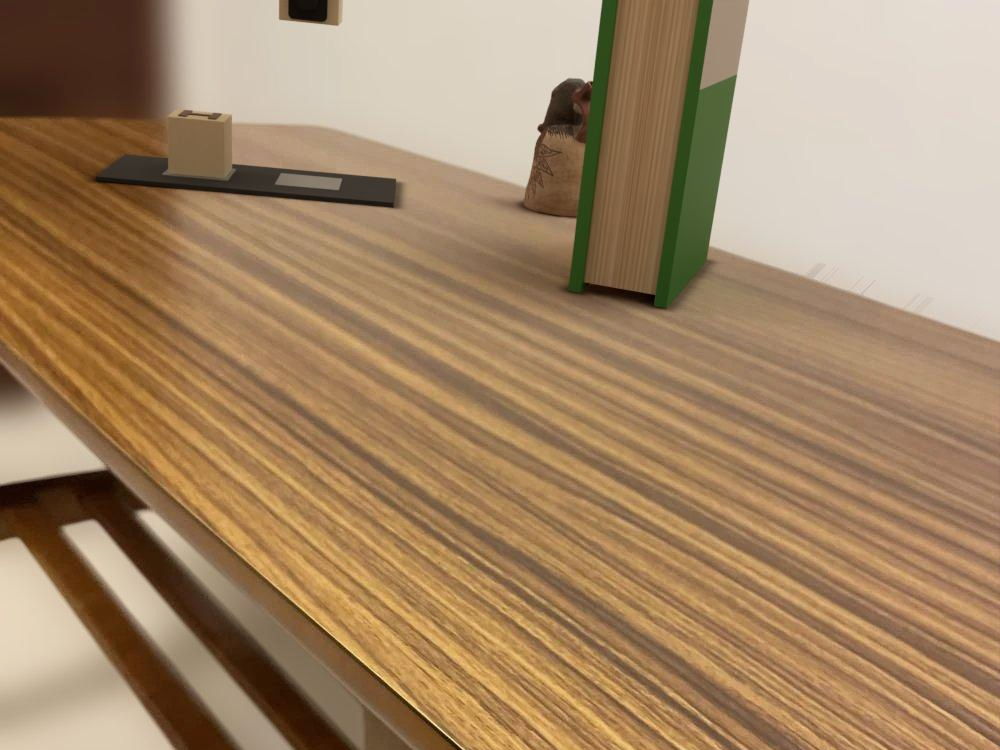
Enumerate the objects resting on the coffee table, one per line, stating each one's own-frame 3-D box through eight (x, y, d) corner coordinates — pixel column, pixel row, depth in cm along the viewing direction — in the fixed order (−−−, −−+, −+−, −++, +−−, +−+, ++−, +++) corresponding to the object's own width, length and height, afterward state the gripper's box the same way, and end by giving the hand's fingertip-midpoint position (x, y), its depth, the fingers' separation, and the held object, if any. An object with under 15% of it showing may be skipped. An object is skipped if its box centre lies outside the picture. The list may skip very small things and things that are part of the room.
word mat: (95, 180, 108) (95, 175, 108) (125, 158, 119) (125, 153, 119) (393, 207, 111) (393, 201, 111) (395, 182, 122) (396, 177, 122)
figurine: (572, 200, 123) (587, 73, 118) (612, 216, 118) (629, 84, 113) (511, 201, 119) (523, 70, 114) (550, 218, 114) (564, 81, 109)
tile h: (168, 173, 112) (166, 115, 110) (178, 164, 116) (176, 107, 114) (224, 178, 112) (224, 120, 110) (232, 169, 117) (231, 113, 115)
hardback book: (666, 308, 89) (722, -59, 79) (568, 290, 91) (610, -71, 80) (706, 261, 105) (757, -51, 94) (622, 246, 106) (663, -61, 96)
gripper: (279, -222, 106) (277, 7, 114) (254, -247, 91) (254, 20, 99) (367, -211, 107) (359, 16, 115) (357, -234, 92) (348, 29, 99)
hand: (310, 15), depth 107 cm, fingers closed on tile i, 5 cm apart
